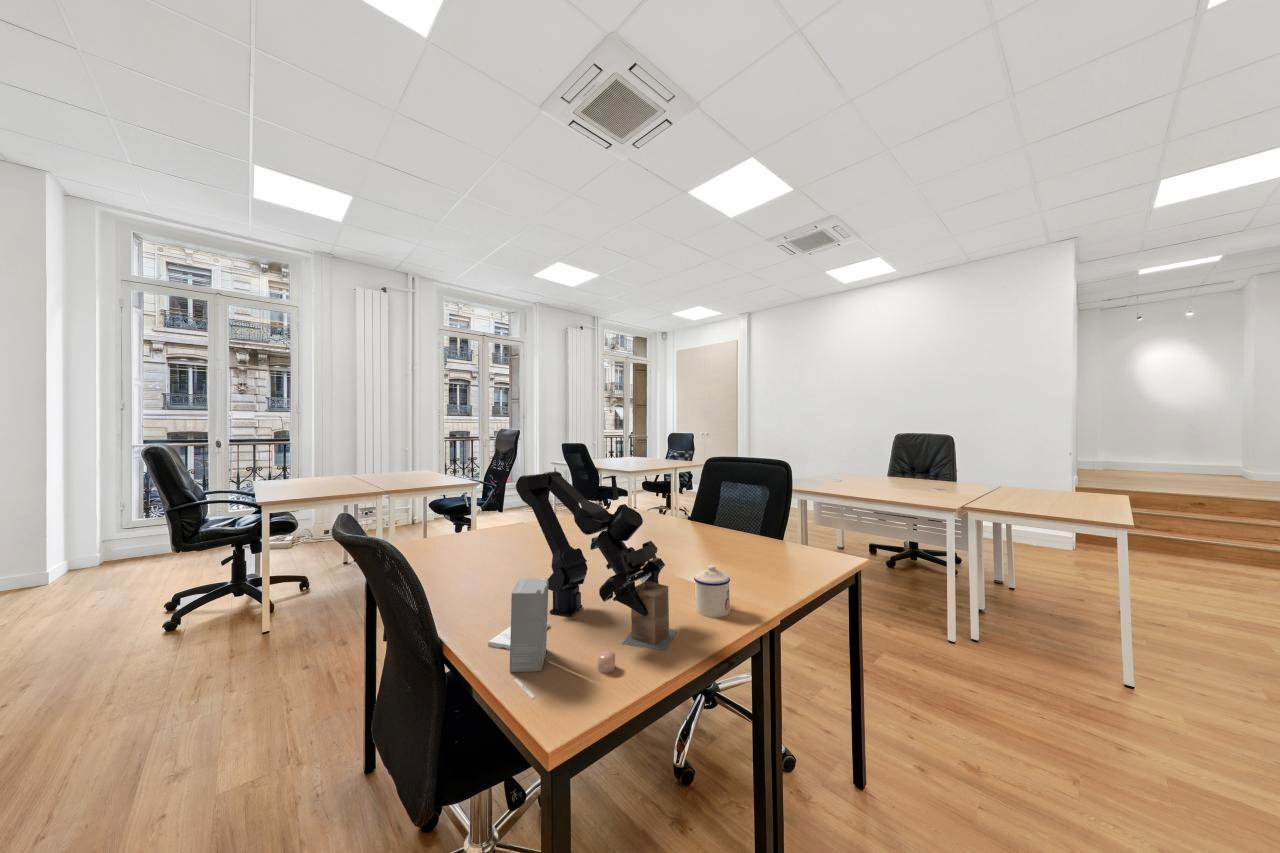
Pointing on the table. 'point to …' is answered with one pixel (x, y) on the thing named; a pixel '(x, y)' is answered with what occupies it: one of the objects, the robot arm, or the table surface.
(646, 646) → the rubber coaster
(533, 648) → the skincare box
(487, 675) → the table surface
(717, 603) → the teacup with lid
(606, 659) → the pink small cylinder
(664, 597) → the brown box
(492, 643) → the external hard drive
